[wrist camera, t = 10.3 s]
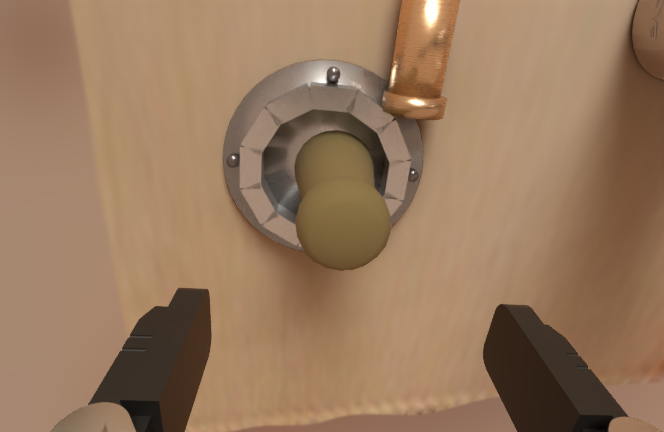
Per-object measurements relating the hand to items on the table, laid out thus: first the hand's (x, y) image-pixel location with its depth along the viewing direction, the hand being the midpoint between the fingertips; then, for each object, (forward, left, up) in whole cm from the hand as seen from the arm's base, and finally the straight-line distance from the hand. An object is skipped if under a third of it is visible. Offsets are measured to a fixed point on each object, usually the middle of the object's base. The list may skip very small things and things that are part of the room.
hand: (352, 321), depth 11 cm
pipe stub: (-5, -7, -21) cm, 23 cm away
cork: (-1, +2, -20) cm, 20 cm away
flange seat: (0, +2, -21) cm, 21 cm away
